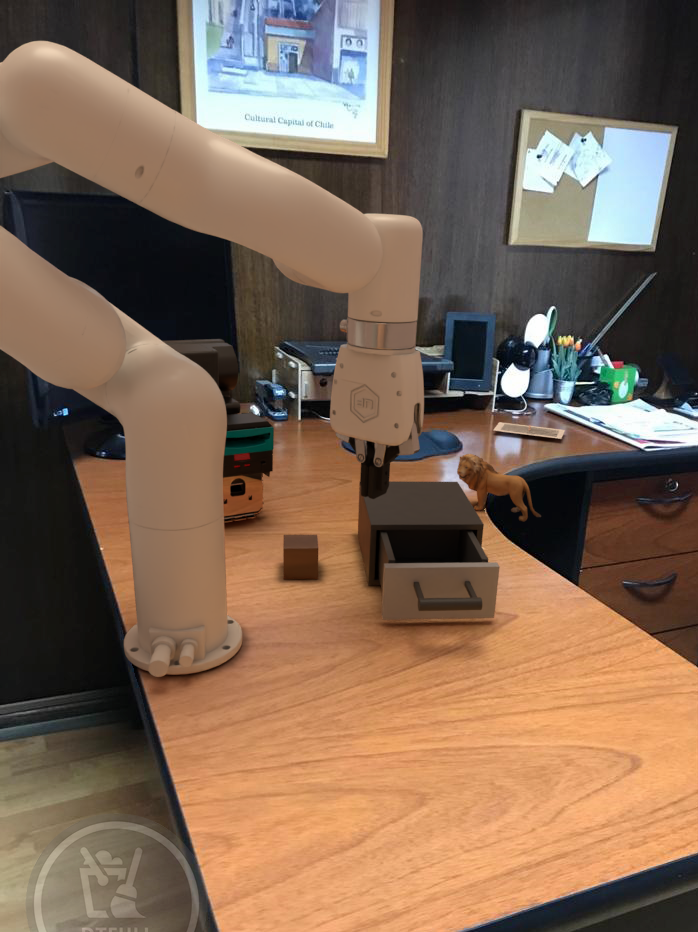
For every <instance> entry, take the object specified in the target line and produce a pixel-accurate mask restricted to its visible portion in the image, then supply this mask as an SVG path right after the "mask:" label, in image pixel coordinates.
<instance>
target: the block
mask: <svg viewBox="0 0 698 932" xmlns="http://www.w3.org/2000/svg"><path fill="white" fill-rule="evenodd" d="M282 547H283V550H282V551H283V553H282V555H283V564H282V566H283V567H282V568H283V580H319V539H318V534H283V543H282Z"/></svg>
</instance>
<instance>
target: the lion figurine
mask: <svg viewBox="0 0 698 932" xmlns="http://www.w3.org/2000/svg"><path fill="white" fill-rule="evenodd" d="M456 473H457V475H458V478H459V480H461V481H462V482H463V483H465V484H466V486H467V487H468V489H469V490H471V491H474V492H476V498H477V503H476V505H474V506H473V508H474V509H475V511H481V510H483V509H484V507H485V505H486V503H487V498H488V494H491V495H493V496H494V495H495V496H498V497H501V496H506V495H509V497H510V500H511V501H512V503H513V505H515V507H512V508H511V509H510V512H512V513H515V514H516V513H519V512H521V514H522V515H519V516H518V520H519V522H527V520H528V518H529V516H528V507H529V510H530V513H532V515H533V516H534V517H536V518H541V517H542V515H541V514H540V513H538V512H537V511H535V508H534V507H533V503H532V502H533V501H532V496H531V490H530V488H529V485H528V483H527V482H526V480H525V479H524V478H523V477H522V476H519V475H508V474H503V473H499V472H497V471H496V470H495V468H494V466H492V465H491V464H490V463H489V462H487V461H485V460H484V459H483V458H482V457H480V456H478V455H476V454H473V453H466V454H463V455H462V456H459V461H458V465H457V469H456ZM525 495H526V499H527V504H528V507H527V505H525V503H524V496H525Z"/></svg>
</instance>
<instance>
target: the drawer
mask: <svg viewBox="0 0 698 932" xmlns="http://www.w3.org/2000/svg"><path fill="white" fill-rule="evenodd" d="M375 564H376V568H377V572H378V576H379V580H380V584H381V585H380V589H381V593H382V596H381V620H382V621H406V620H409V621H410V620H457V619H458V620H459V619H463V620H464V619H494V618H495V613H496V604H497V603H496V602H497V596H498V595H497V594H498V587H499V586H498V585H499V578H500V577H499V575H500V567H501V566H500V565H499V563H498V562H497V561H495V562H489V557H488V555H487V553H486V552H485V551H484V549H483V547H481V545H480V544H479V542H478V540H477V538H476V536H475V535H474V533H473V531H472V530H377V536H376V559H375Z"/></svg>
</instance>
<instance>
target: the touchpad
mask: <svg viewBox="0 0 698 932" xmlns="http://www.w3.org/2000/svg"><path fill="white" fill-rule="evenodd" d="M493 431H494V432H495V431H496V432H503V433H511V434H518V435H519V434H520V435H526V436H535V437H542V438H550V439H560V440H562V439H563V436H564V434H565V431H566V430H565V429H560V428H558V429H557V428H553V427H552V428H551V427H545V426H544V427H543V426H535V425H531V424H529V425H527V424H518V423H511V422H510V423H509V422H500V421H499V422H498V423H497V424H496V426H495V427H494V429H493Z"/></svg>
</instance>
